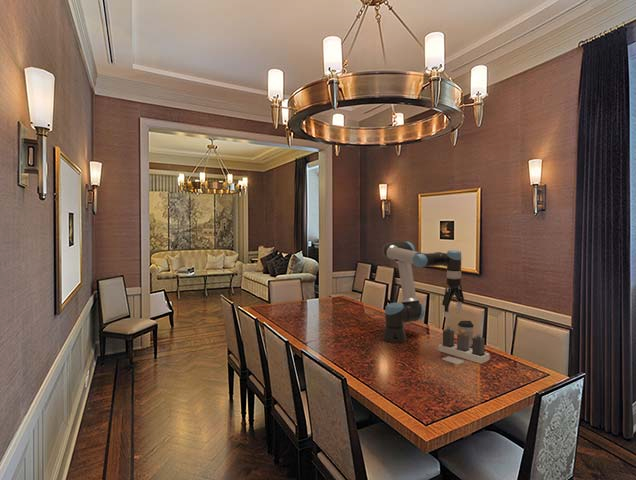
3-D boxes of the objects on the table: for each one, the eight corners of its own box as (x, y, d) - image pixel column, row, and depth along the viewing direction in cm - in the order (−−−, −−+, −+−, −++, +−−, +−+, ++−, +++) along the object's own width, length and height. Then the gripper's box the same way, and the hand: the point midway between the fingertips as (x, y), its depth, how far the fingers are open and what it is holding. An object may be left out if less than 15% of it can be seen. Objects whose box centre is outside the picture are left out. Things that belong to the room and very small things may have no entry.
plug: (464, 357, 197) (464, 331, 196) (457, 354, 200) (457, 329, 200) (468, 355, 199) (468, 330, 199) (461, 353, 203) (461, 328, 202)
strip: (438, 351, 207) (438, 326, 206) (446, 348, 213) (446, 323, 212) (481, 365, 187) (481, 337, 186) (489, 360, 193) (489, 333, 192)
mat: (441, 359, 195) (441, 359, 195) (448, 356, 199) (448, 355, 199) (458, 365, 187) (458, 364, 187) (464, 361, 192) (464, 361, 192)
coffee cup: (464, 348, 212) (464, 324, 211) (454, 343, 220) (454, 320, 220) (476, 347, 214) (477, 322, 214) (466, 342, 223) (467, 318, 222)
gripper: (448, 281, 187) (448, 320, 188) (470, 276, 203) (470, 312, 204) (435, 279, 192) (435, 317, 194) (458, 274, 209) (457, 309, 210)
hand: (453, 315), depth 199 cm, fingers open, 13 cm apart
